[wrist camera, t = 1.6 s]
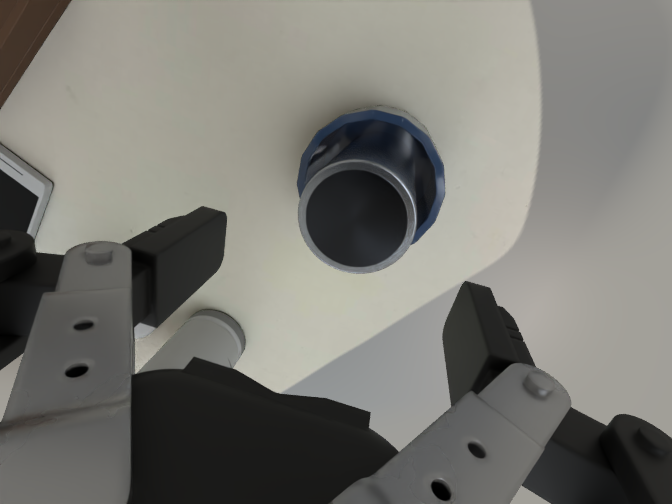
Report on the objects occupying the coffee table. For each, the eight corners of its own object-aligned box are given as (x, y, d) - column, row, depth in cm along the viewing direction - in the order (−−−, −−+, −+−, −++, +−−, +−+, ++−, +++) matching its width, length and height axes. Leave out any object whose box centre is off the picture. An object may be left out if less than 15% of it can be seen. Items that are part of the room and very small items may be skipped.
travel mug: (260, 351, 36) (113, 611, 18) (208, 364, 38) (31, 609, 20) (229, 300, 34) (30, 535, 16) (176, 317, 36) (-50, 541, 18)
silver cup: (348, 122, 25) (308, 145, 15) (424, 142, 25) (434, 178, 15) (332, 195, 27) (288, 256, 17) (401, 214, 27) (396, 288, 17)
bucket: (333, 92, 25) (312, 93, 20) (455, 122, 24) (468, 133, 19) (310, 207, 29) (287, 235, 23) (415, 236, 28) (417, 271, 23)
